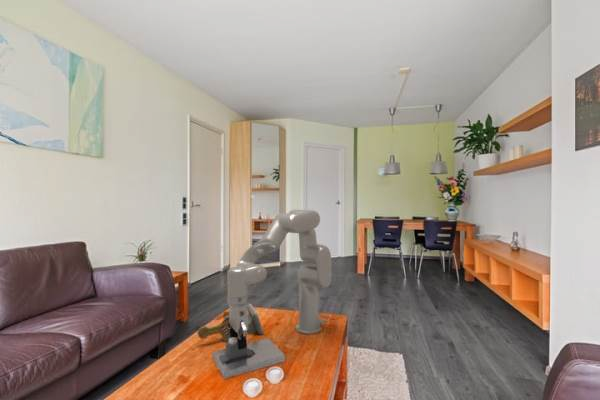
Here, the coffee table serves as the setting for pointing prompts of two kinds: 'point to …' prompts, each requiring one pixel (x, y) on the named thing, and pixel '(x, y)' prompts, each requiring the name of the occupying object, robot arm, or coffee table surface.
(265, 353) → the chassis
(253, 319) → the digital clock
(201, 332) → the toy helicopter
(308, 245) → the robot arm
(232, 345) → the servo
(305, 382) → the coffee table surface
